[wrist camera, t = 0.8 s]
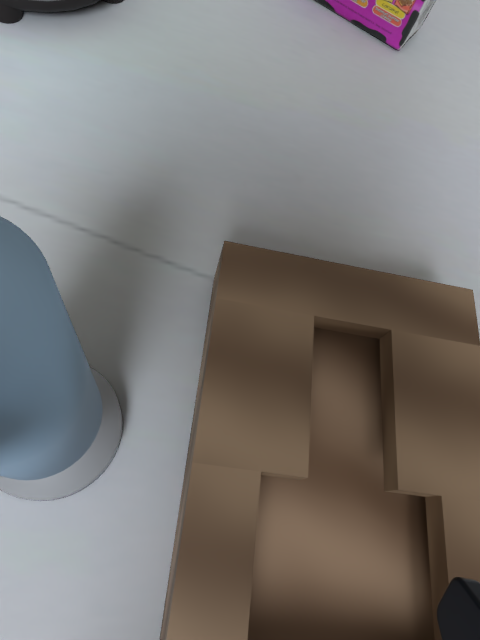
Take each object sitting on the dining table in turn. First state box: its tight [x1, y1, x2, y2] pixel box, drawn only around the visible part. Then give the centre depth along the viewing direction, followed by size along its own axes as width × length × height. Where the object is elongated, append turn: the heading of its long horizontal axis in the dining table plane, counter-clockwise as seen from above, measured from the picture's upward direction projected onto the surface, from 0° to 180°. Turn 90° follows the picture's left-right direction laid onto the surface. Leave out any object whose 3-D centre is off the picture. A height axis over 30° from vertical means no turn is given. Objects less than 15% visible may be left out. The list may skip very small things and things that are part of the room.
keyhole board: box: [160, 241, 480, 640], centre depth 19 cm, size 20×13×4 cm, turn 174°
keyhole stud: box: [0, 217, 122, 501], centre depth 14 cm, size 6×6×13 cm
